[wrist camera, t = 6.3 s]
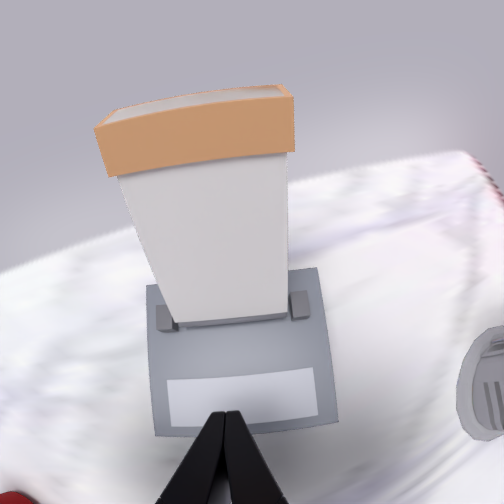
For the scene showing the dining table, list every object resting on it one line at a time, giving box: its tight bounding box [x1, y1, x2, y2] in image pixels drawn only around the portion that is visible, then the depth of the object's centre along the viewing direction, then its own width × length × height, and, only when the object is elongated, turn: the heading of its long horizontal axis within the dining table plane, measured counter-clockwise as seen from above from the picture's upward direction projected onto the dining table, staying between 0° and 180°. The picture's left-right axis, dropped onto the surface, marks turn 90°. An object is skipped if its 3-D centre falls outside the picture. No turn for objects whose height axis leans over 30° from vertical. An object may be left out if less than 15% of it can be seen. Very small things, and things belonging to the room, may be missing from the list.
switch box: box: [146, 267, 339, 437], centre depth 16 cm, size 8×9×6 cm
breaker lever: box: [94, 84, 295, 327], centre depth 11 cm, size 2×5×10 cm, turn 95°
